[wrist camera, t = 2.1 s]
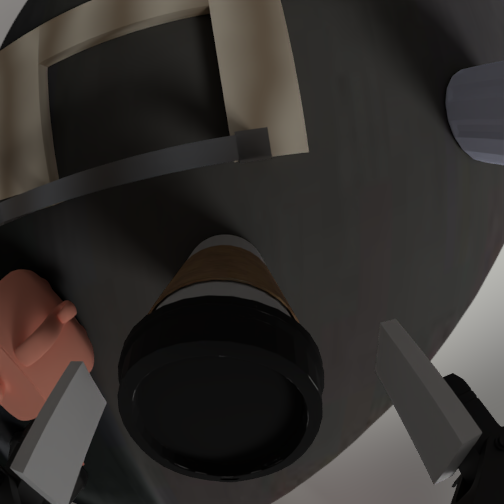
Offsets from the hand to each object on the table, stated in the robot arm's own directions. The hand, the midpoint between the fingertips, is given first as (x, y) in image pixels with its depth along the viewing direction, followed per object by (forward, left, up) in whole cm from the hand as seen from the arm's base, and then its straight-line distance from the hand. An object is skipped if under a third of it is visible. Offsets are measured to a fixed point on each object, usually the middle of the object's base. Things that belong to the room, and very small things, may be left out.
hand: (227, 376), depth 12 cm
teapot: (-20, -3, -12) cm, 24 cm away
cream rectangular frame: (-7, +16, -12) cm, 21 cm away
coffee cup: (0, 0, -12) cm, 12 cm away
